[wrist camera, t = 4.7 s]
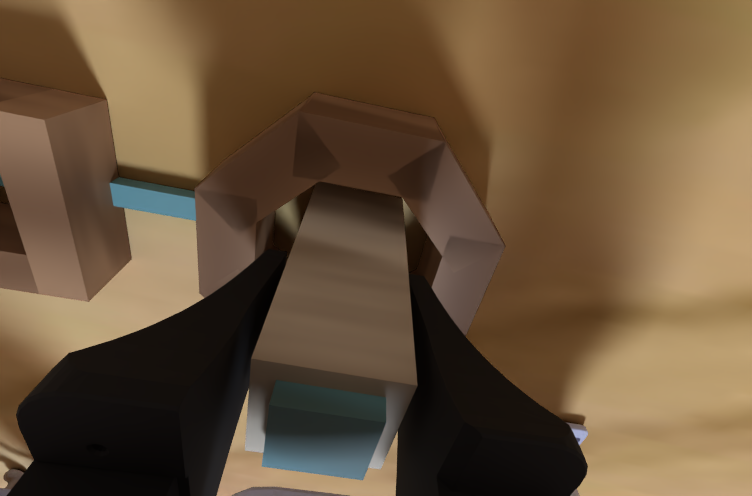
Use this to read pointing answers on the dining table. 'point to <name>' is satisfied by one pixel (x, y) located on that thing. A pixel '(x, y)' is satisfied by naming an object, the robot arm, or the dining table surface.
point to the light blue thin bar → (152, 198)
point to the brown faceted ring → (357, 170)
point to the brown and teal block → (336, 340)
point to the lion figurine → (12, 477)
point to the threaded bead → (58, 193)
